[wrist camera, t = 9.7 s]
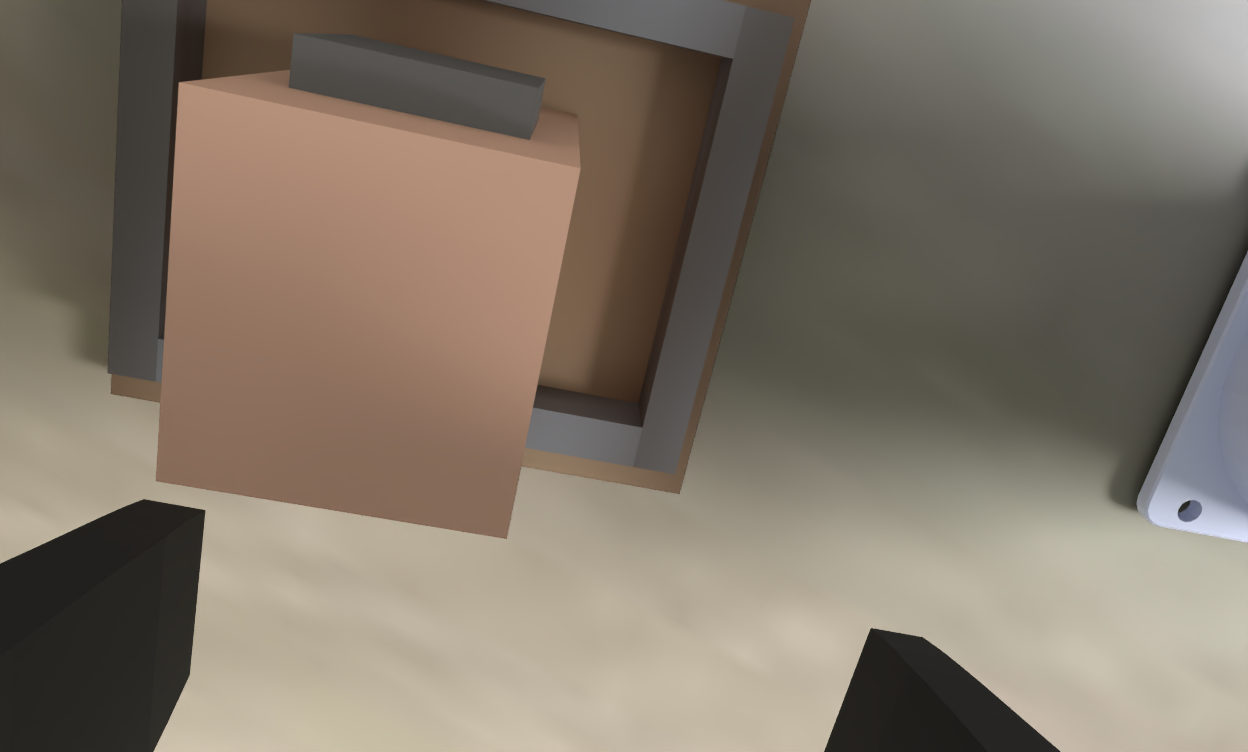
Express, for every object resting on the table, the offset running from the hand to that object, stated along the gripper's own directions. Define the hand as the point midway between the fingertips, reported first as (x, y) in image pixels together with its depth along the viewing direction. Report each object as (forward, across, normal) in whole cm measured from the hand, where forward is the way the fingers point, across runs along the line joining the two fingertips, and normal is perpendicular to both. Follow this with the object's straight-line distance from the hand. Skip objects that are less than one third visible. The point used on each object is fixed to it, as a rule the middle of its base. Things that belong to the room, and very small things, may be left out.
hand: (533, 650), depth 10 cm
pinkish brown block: (+8, +2, -3) cm, 9 cm away
